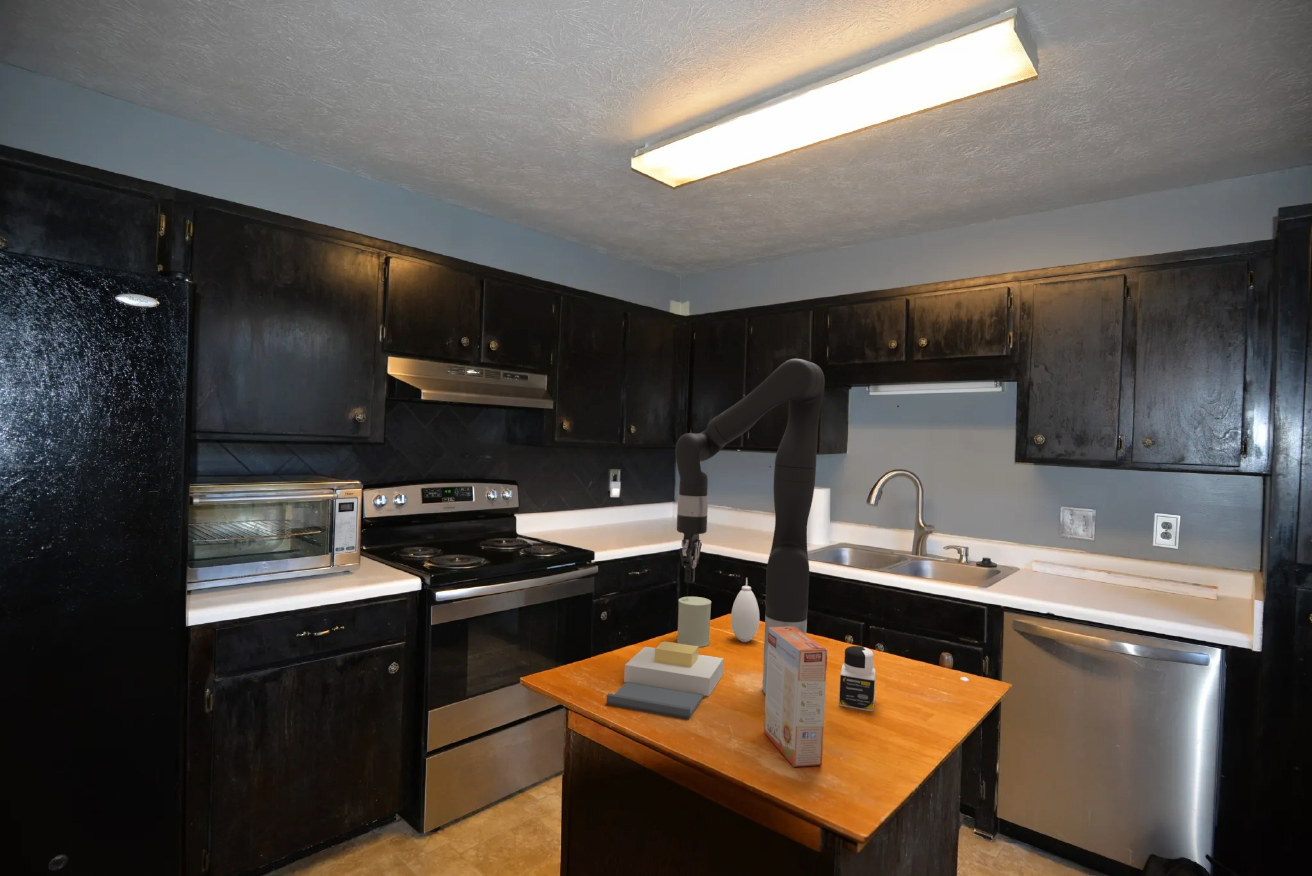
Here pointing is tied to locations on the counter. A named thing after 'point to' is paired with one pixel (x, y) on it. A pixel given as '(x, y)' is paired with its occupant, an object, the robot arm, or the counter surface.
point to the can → (694, 621)
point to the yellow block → (676, 654)
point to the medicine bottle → (857, 679)
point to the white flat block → (674, 673)
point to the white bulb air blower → (745, 615)
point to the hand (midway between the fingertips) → (689, 582)
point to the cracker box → (795, 695)
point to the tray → (655, 700)
